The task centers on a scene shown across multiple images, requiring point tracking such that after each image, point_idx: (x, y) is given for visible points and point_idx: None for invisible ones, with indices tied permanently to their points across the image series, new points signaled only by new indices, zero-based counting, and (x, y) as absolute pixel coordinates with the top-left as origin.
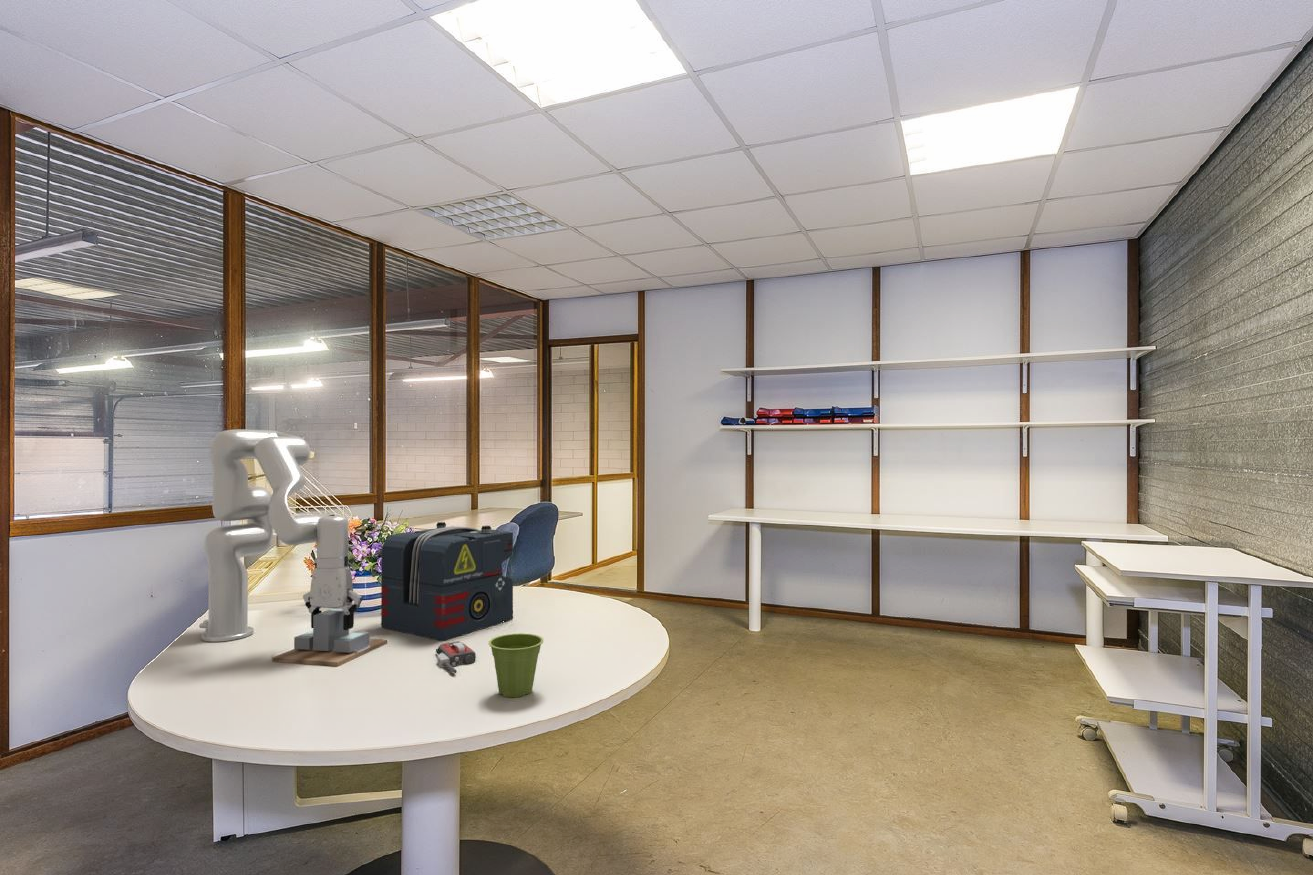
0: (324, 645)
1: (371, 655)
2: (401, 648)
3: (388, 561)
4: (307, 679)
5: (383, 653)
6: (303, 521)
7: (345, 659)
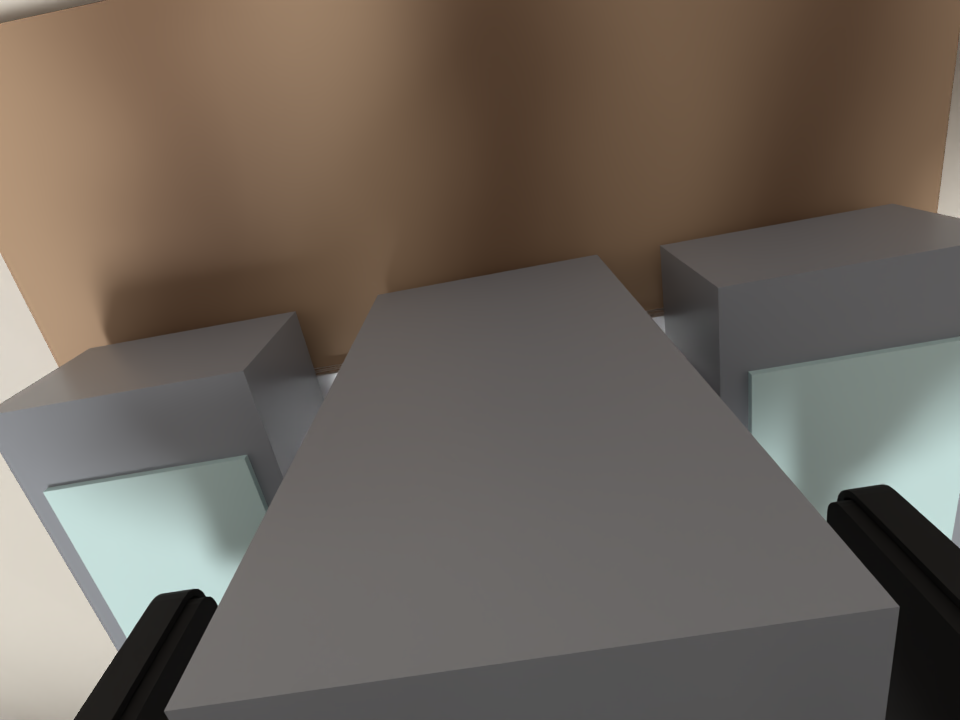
0: (428, 307)
1: None
2: (27, 678)
3: None
4: None
5: (12, 546)
6: None
7: None
